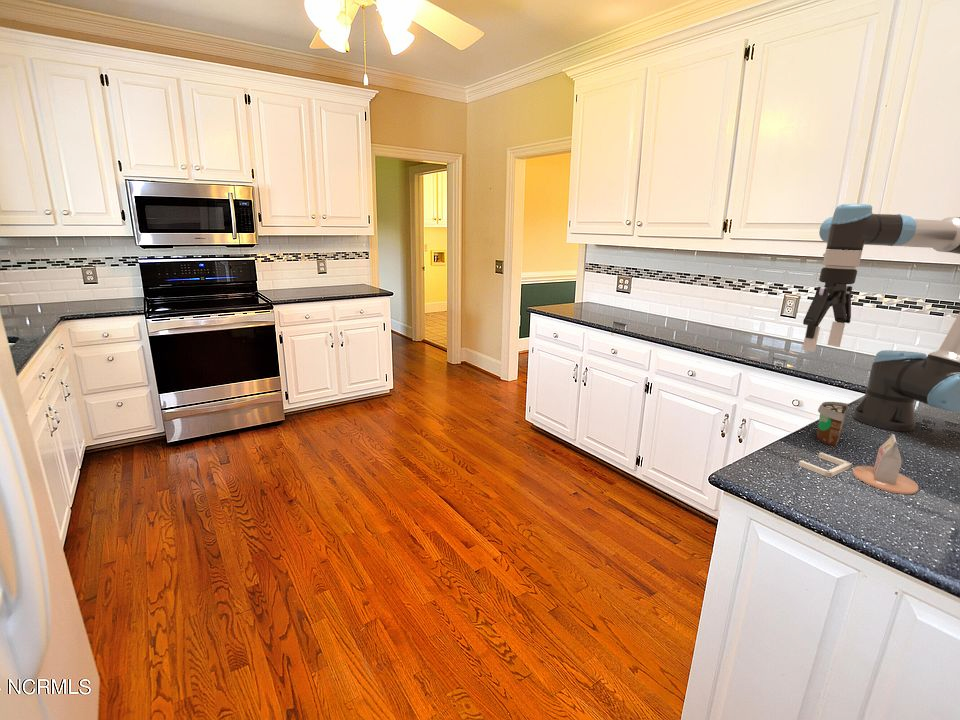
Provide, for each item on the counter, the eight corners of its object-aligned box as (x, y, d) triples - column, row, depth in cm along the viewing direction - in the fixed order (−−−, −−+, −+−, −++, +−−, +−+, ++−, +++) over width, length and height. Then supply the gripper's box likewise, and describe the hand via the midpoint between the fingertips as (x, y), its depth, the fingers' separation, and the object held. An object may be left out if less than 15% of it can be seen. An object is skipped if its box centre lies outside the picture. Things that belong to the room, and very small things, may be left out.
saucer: (865, 464, 122) (866, 461, 121) (926, 486, 112) (926, 483, 112) (843, 475, 115) (843, 472, 115) (905, 499, 106) (906, 496, 105)
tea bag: (892, 474, 115) (903, 435, 113) (895, 485, 110) (906, 445, 107) (873, 469, 117) (883, 431, 115) (874, 480, 112) (885, 440, 109)
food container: (815, 429, 143) (822, 398, 141) (840, 435, 140) (848, 403, 137) (808, 441, 135) (816, 408, 132) (834, 448, 131) (843, 414, 128)
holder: (820, 456, 125) (821, 452, 125) (850, 467, 120) (852, 463, 119) (798, 465, 120) (799, 461, 119) (829, 477, 114) (830, 473, 114)
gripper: (845, 266, 132) (828, 341, 138) (798, 266, 119) (781, 349, 125) (878, 268, 126) (858, 346, 132) (832, 269, 113) (813, 356, 119)
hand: (821, 348), depth 128 cm, fingers open, 13 cm apart
